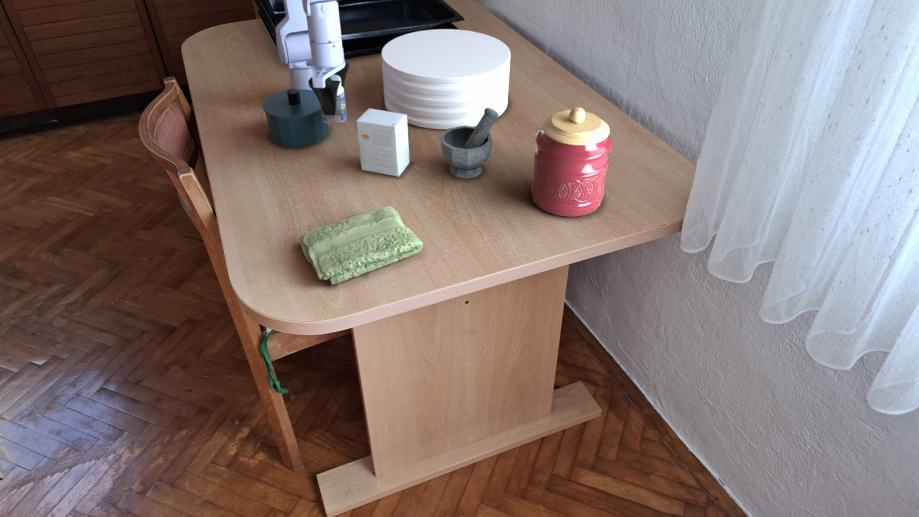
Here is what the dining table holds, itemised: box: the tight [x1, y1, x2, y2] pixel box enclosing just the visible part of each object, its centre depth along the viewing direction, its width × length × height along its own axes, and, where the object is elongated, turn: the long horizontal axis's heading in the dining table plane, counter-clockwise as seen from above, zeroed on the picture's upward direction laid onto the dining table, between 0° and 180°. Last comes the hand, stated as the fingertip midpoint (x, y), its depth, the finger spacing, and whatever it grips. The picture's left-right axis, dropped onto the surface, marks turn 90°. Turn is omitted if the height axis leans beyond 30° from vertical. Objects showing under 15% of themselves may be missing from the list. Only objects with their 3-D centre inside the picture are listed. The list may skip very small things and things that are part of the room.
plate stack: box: [381, 28, 512, 130], centre depth 146 cm, size 28×28×12 cm
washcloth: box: [297, 205, 424, 286], centre depth 105 cm, size 13×18×3 cm
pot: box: [265, 111, 329, 149], centre depth 135 cm, size 12×12×6 cm
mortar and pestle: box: [440, 108, 500, 179], centre depth 122 cm, size 11×9×12 cm
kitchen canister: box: [530, 106, 613, 218], centre depth 113 cm, size 13×13×18 cm
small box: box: [355, 107, 411, 178], centre depth 123 cm, size 8×6×10 cm
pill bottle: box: [321, 75, 348, 125], centre depth 125 cm, size 5×5×8 cm
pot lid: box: [261, 88, 321, 119], centre depth 132 cm, size 13×13×4 cm
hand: (333, 107), depth 126 cm, fingers closed on pill bottle, 5 cm apart
